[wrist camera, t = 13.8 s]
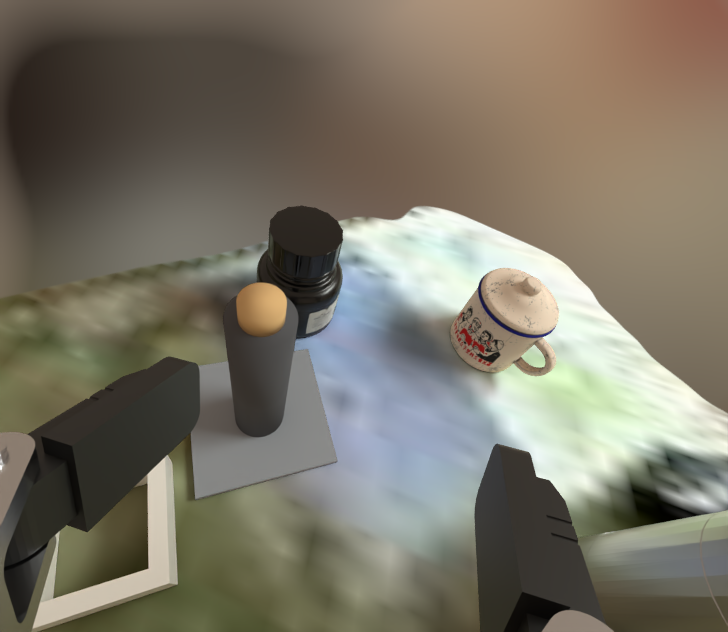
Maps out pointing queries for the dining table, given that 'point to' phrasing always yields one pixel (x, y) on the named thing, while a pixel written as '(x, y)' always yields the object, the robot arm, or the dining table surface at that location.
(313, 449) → the grey felt mat
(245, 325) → the black cable stub
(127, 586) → the square ring with handle
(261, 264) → the ink bottle
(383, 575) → the dining table surface
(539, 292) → the teacup with lid
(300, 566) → the dining table surface
